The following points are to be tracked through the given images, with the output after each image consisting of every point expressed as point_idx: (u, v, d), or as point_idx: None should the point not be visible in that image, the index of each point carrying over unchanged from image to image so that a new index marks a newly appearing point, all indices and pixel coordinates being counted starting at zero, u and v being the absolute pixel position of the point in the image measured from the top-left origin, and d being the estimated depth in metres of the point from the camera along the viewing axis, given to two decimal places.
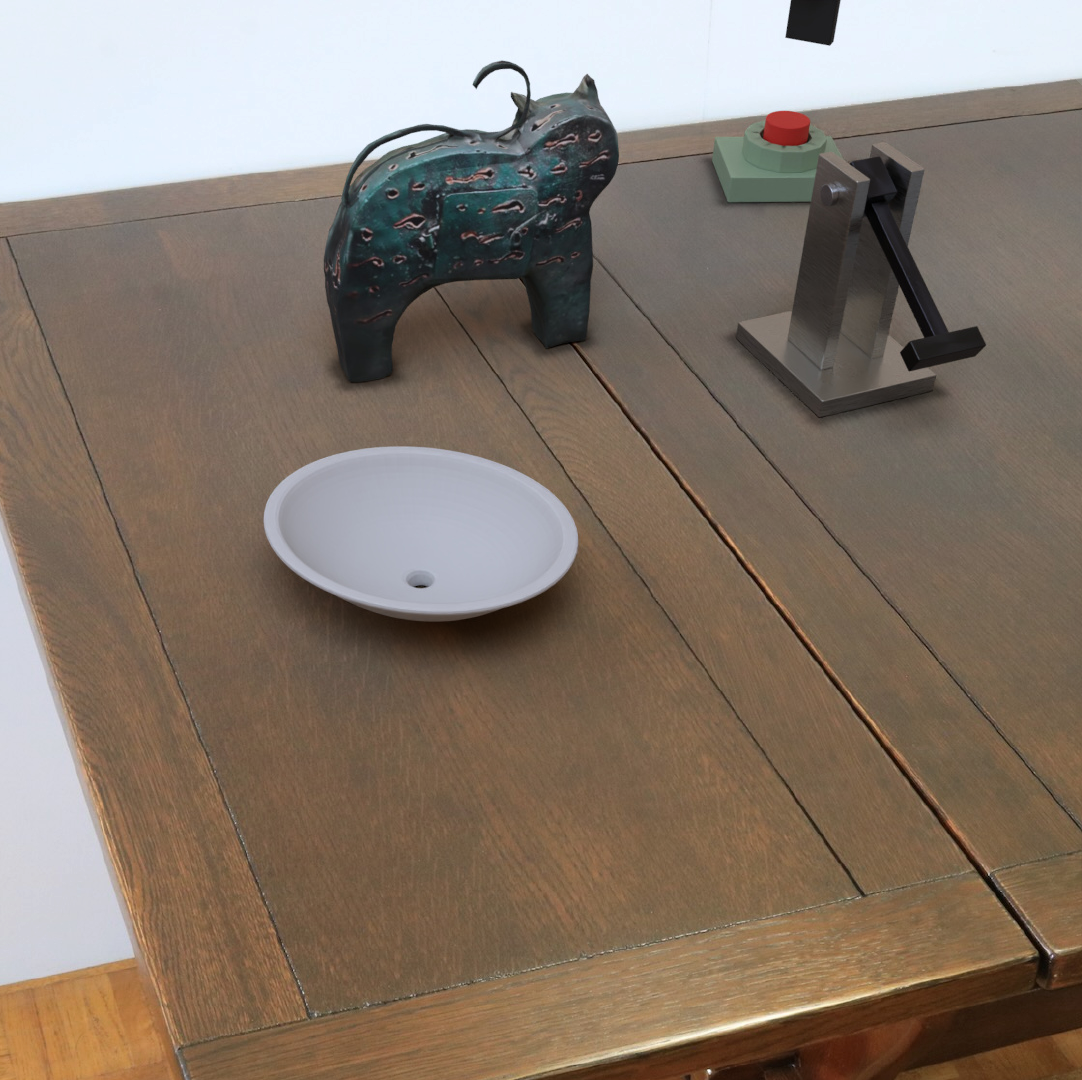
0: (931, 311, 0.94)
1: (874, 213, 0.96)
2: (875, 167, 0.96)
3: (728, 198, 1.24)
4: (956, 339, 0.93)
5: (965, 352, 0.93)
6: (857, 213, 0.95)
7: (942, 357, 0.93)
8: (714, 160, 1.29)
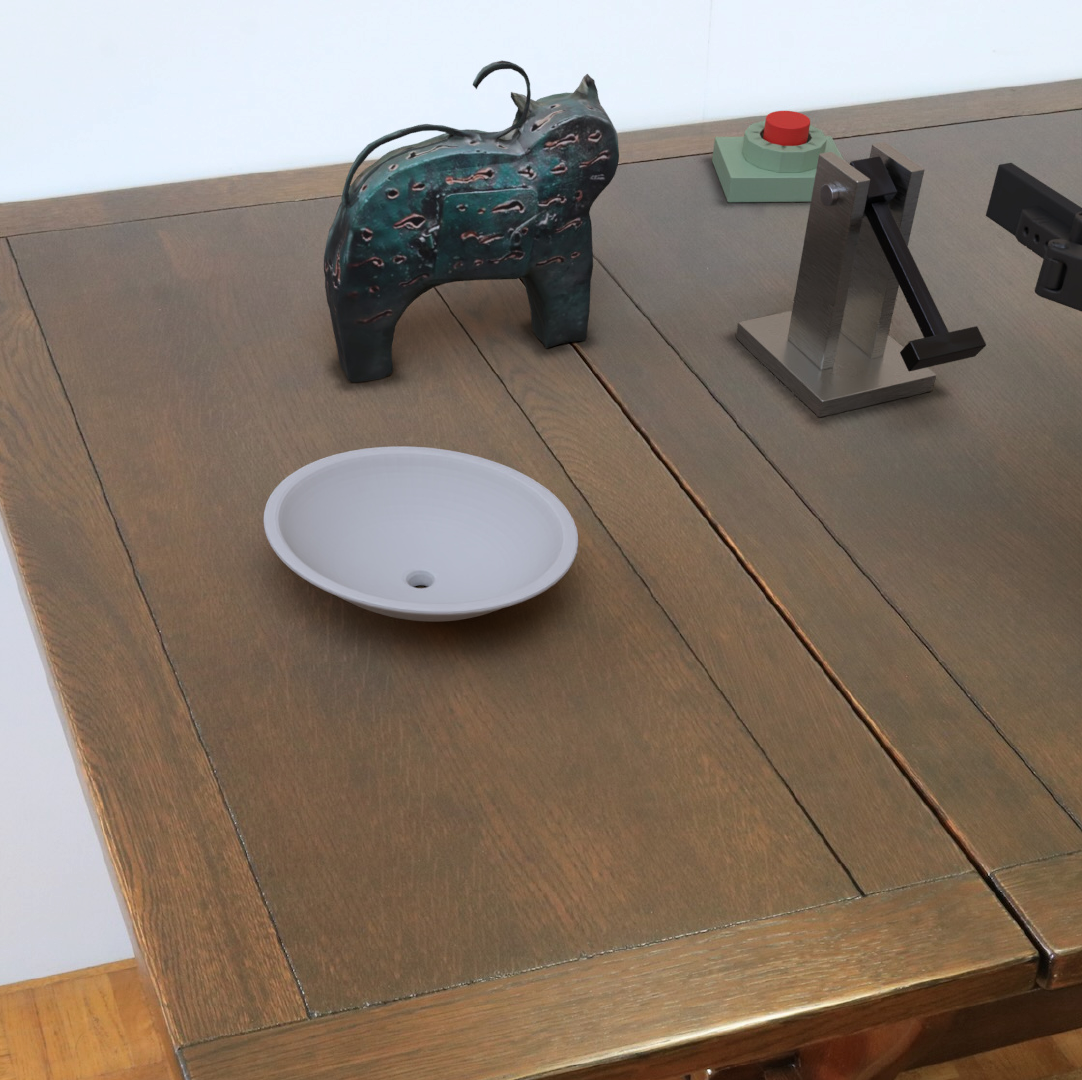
0: (931, 311, 0.94)
1: (874, 213, 0.96)
2: (875, 167, 0.96)
3: (728, 198, 1.24)
4: (956, 339, 0.93)
5: (965, 352, 0.93)
6: (857, 213, 0.95)
7: (942, 357, 0.93)
8: (714, 160, 1.29)
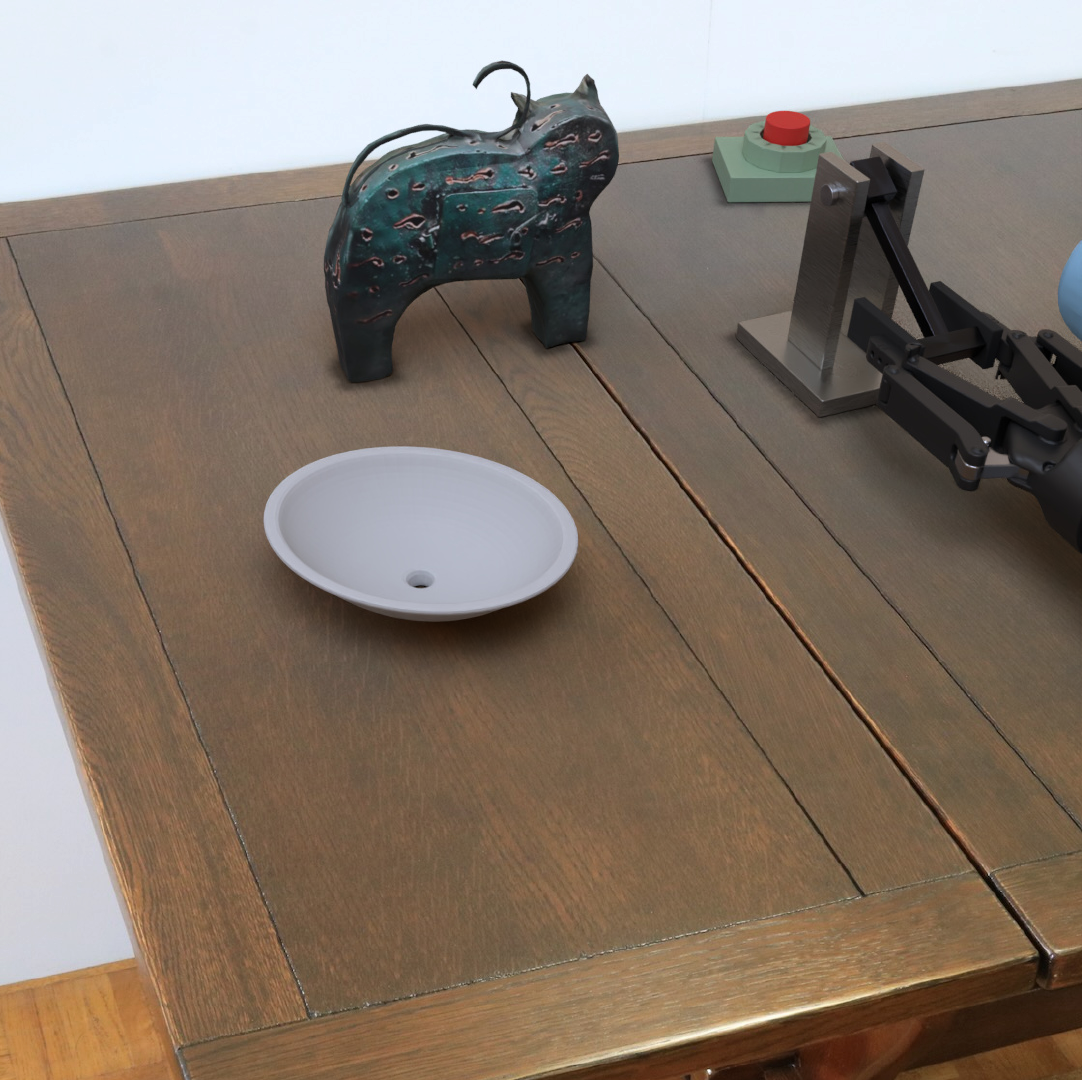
0: (931, 311, 0.94)
1: (874, 213, 0.96)
2: (875, 167, 0.96)
3: (728, 198, 1.24)
4: (956, 339, 0.93)
5: (965, 352, 0.93)
6: (857, 213, 0.95)
7: (942, 357, 0.93)
8: (714, 160, 1.29)
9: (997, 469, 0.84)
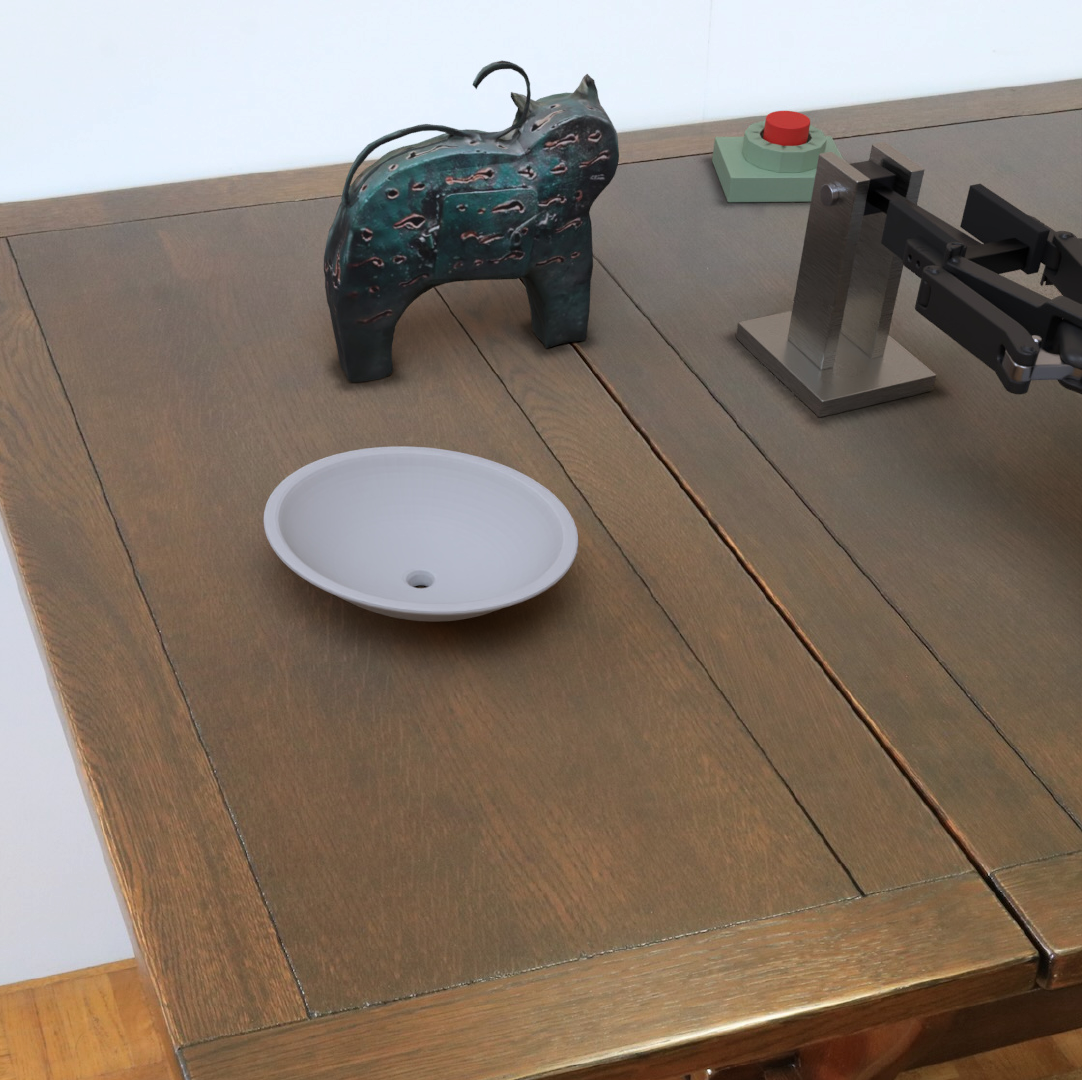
0: (961, 236, 0.90)
1: (878, 195, 0.95)
2: (868, 165, 0.97)
3: (728, 198, 1.24)
4: (995, 246, 0.88)
5: (1009, 255, 0.88)
6: (857, 213, 0.95)
7: (985, 261, 0.87)
8: (714, 160, 1.29)
9: (1049, 369, 0.78)
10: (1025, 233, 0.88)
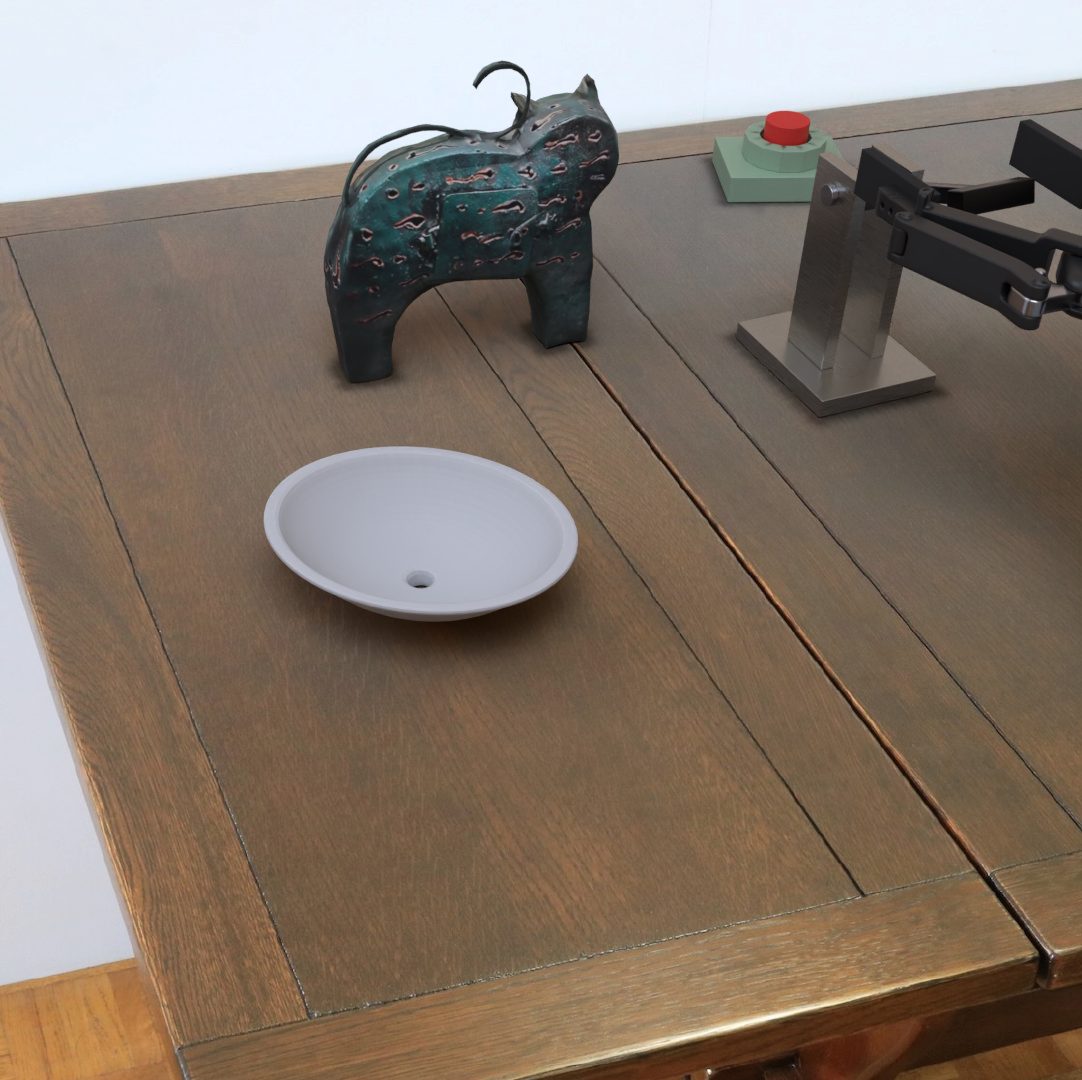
0: (964, 186, 0.88)
1: None
2: None
3: (728, 198, 1.24)
4: (998, 182, 0.86)
5: (1015, 187, 0.86)
6: (857, 213, 0.95)
7: (990, 193, 0.85)
8: (714, 160, 1.29)
9: (1059, 301, 0.76)
10: (1078, 167, 0.87)
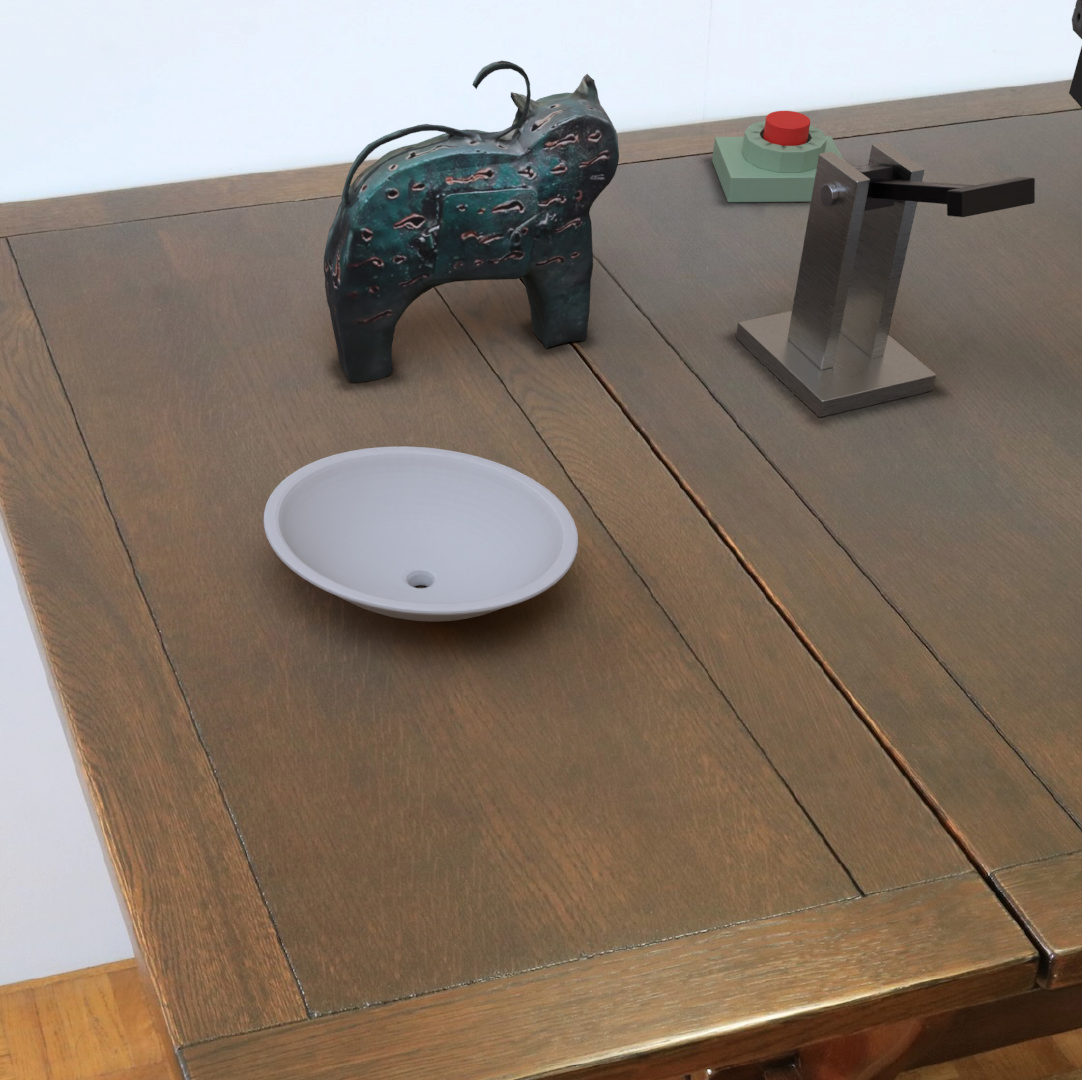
0: (964, 186, 0.88)
1: (878, 184, 0.95)
2: (864, 167, 0.97)
3: (728, 198, 1.24)
4: (998, 182, 0.86)
5: (1015, 187, 0.86)
6: (857, 213, 0.95)
7: (990, 193, 0.85)
8: (714, 160, 1.29)
9: None
10: None
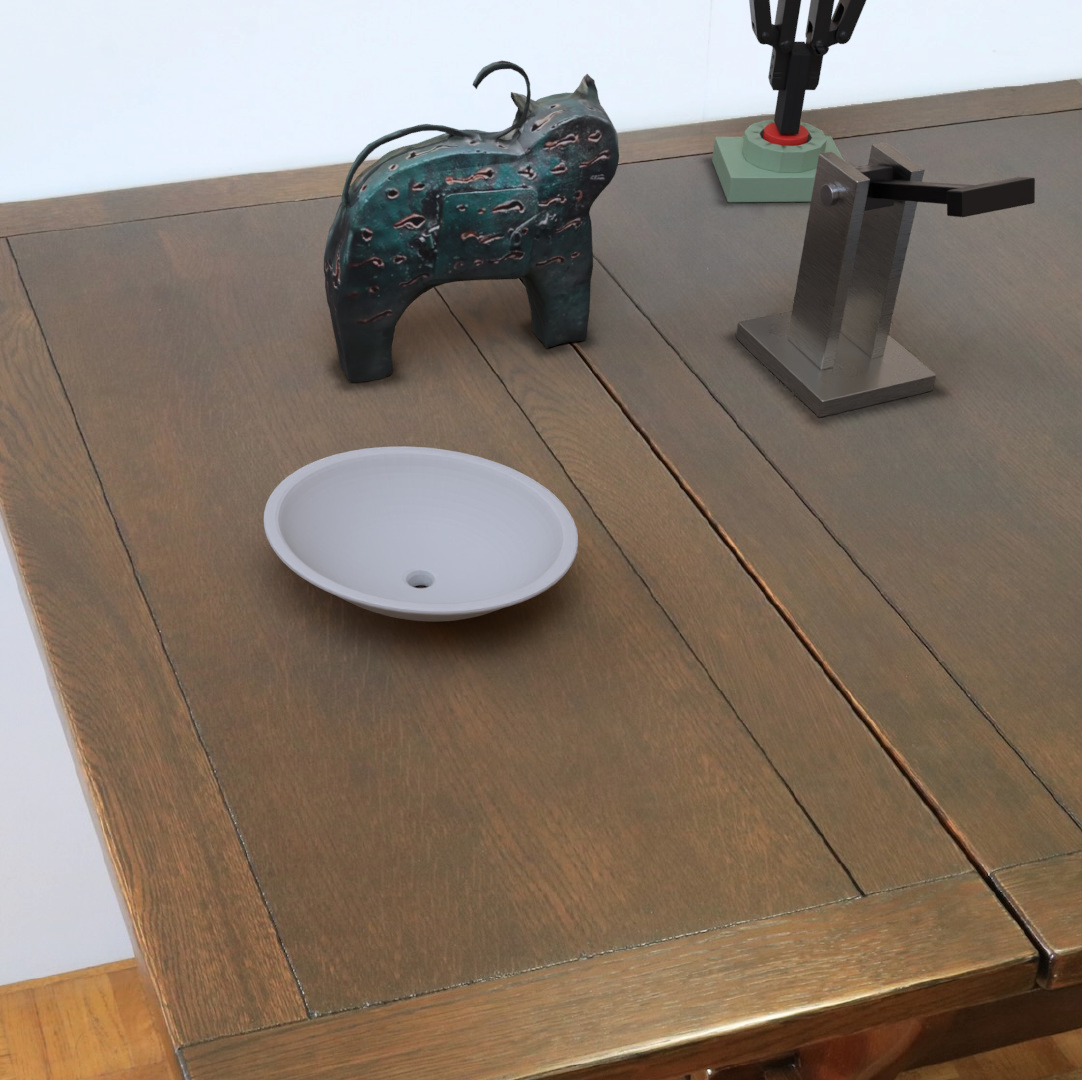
0: (964, 186, 0.88)
1: (878, 184, 0.95)
2: (864, 167, 0.97)
3: (728, 198, 1.24)
4: (998, 182, 0.86)
5: (1015, 187, 0.86)
6: (857, 213, 0.95)
7: (990, 193, 0.85)
8: (714, 160, 1.29)
9: None
10: None
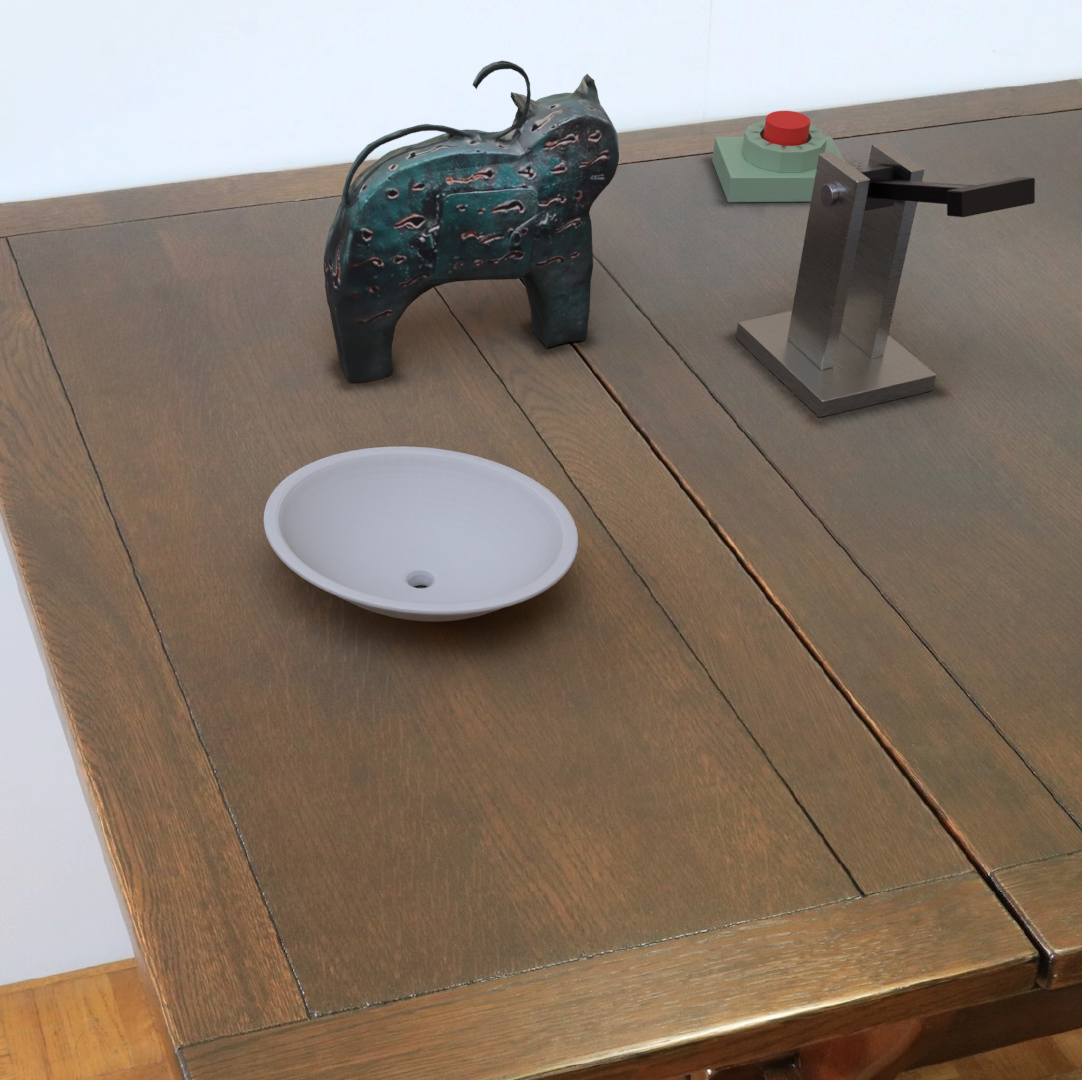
0: (964, 186, 0.88)
1: (878, 184, 0.95)
2: (864, 167, 0.97)
3: (728, 198, 1.24)
4: (998, 182, 0.86)
5: (1015, 187, 0.86)
6: (857, 213, 0.95)
7: (990, 193, 0.85)
8: (714, 160, 1.29)
9: None
10: None
